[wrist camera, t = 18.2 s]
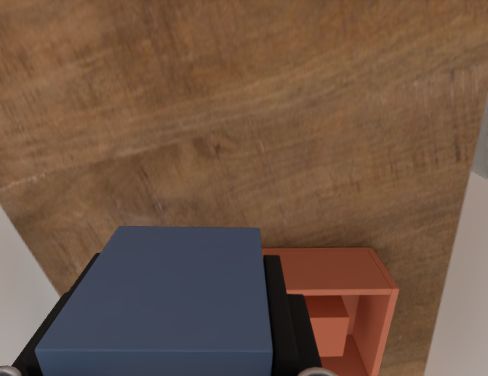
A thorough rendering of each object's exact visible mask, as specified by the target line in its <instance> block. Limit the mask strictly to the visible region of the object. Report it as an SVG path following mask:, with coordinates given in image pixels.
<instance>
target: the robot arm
mask: <svg viewBox="0 0 488 376" xmlns="http://www.w3.org/2000/svg"><path fill="white" fill-rule="evenodd" d="M99 255H100V253H96V254H95V255H94V256H93V258H92V259H91V261H90V262H89V263H88V265H87V266H86V268H85V269H84V271H83V272H82V273H81V275H80V276H79V278H78V279H77V280H76V282H75V283H74V285H73V286H72V287H71V289H70V290H69V292H66V293H65V294H64V295H63V296H62V297H61V298H60V299H59V301H58V302H57V304H56V305H55V306H54V308H53V309H52V310H51V312H50V313H49V315H48V316H47V317H46V319H45V320H44V321H43V323H42V324H41V326H40V327H39V328H38V330H37V331H36V333H35V334H34V335H33V337H32V338H31V339H30V341H29V342H28V344H27V345H26V347H25V348H24V349H23V351H22V352H21V353H20V355H19V356H18V357H17V359H16V360H15V362H14V363H13V364H12V366H0V376H44V375H43V373H42V370H41V367H40V364H39V361H38V359H37V356H36V353H35V348H36V347H37V345H38V344H39V342H40V341H41V339H42V338H43V337H44V335H45V334H46V332H47V331H48V329H49V328H50V326H51V325H52V323H53V322H54V320H55V319H56V318H57V316H58V315H59V313H60V312H61V310H62V309H63V307H64V306H65V304H66V303H67V302H68V300H69V299H70V297H71V296H72V294H73V293H74V291H75V290H76V288H77V287H78V285H79V284H80V283H81V281H82V280H83V278H84V277H85V275H86V274H87V272H88V271H89V269H90V268H91V266H92V265H93V264H94V262H95V261H96V259H97V258H98V256H99ZM263 265H264V274H265V283H266V293H267V302H268V311H269V320H270V330H271V339H272V348H273V354H272V366H271V376H338V375H337V374H335V373H334V372H332V371H330V370H327V369H325V368H323V367H322V363H321V359H320V356H319V352H318V348H317V344H316V340H315V336H314V332H313V328H312V324H311V321H310V317H309V313H308V309H307V305H306V301H305V298H304V295H303V294H287V291H286V286H285V281H284V275H283V270H282V265H281V260H280V255H264V256H263Z"/></svg>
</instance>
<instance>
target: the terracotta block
mask: <svg viewBox="0 0 488 376" xmlns="http://www.w3.org/2000/svg"><path fill="white" fill-rule="evenodd" d="M304 298H305V301H306V305H307V309H308V313H309V317H310V321H311V324H312V328H313V332H314V336H315V340H316V344H317V348H318V352H319V356H320V357H332V356H343V352H344V347H345V341H346V336H347V330H348V324H349V319H350V317H349V315H348V312H347V310H346V307H345V305H344V302H343V300H342V297H341V295H310V296H304Z"/></svg>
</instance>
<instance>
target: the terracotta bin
mask: <svg viewBox="0 0 488 376" xmlns="http://www.w3.org/2000/svg"><path fill="white" fill-rule="evenodd" d="M262 255H263V256H264V255H280V260H281V265H282V270H283V275H284V281H285V286H286V291H287V294H303V295H304V296H310V295H341V297H342V300H343V302H344V305H345V307H346V310H347V312H348V315H349V317H350V319H349V324H348V330H347V336H346V341H345V347H344V352H343V356H332V357H320V359H321V363H322V367H323V368H325V369H327V370H330V371H332V372H334V373H335V374H337V375H338V376H378V372H379V368H380V364H381V360H382V356H383V352H384V349H385V345H386V341H387V337H388V333H389V329H390V325H391V321H392V317H393V313H394V309H395V305H396V301H397V297H398V293H399V287H398V286H397V284H396V283H395V281H394V280H393V278H392V277H391V275H390V274H389V272H388V271H387V269H386V268H385V266H384V265H383V263H382V262H381V260H380V259H379V257H378V256H377V254H376V252H375V251H374V249H373V248H372V247H337V248H262Z"/></svg>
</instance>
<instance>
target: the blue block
mask: <svg viewBox="0 0 488 376" xmlns="http://www.w3.org/2000/svg"><path fill="white" fill-rule="evenodd" d="M35 353H36V356H37V359H38V361H39V364H40V367H41V370H42V373H43V375H44V376H271V366H272V354H273V348H272V339H271V330H270V320H269V311H268V302H267V293H266V283H265V274H264V265H263V255H262V246H261V237H260V229H259V228H223V227H150V226H119V227H118V229H117V230H116V231H115V233H114V234H113V236H112V237H111V239H110V240H109V242H108V243H107V245H106V246H105V248H104V249H103V250H102V252H101V253H100V255H99V256H98V258H97V259H96V261H95V262H94V264H93V265H92V266H91V268H90V269H89V271H88V272H87V274H86V275H85V277H84V278H83V280H82V281H81V283H80V284H79V285H78V287H77V288H76V290H75V291H74V293H73V294H72V296H71V297H70V299H69V300H68V302H67V303H66V304H65V306H64V307H63V309H62V310H61V312H60V313H59V315H58V316H57V318H56V319H55V320H54V322H53V323H52V325H51V326H50V328H49V329H48V331H47V332H46V334H45V335H44V337H43V338H42V339H41V341H40V342H39V344H38V345H37V347H36V348H35Z"/></svg>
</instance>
